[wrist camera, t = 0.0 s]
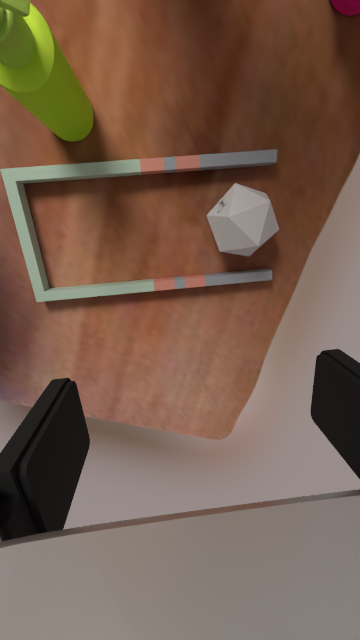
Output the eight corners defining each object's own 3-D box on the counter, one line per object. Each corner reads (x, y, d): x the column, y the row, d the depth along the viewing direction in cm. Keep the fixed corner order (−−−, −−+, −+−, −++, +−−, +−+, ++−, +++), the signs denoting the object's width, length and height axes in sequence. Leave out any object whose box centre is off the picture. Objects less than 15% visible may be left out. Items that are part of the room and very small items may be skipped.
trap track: (9, 172, 34) (0, 169, 32) (271, 153, 35) (277, 149, 33) (42, 298, 39) (36, 302, 38) (266, 277, 41) (272, 279, 39)
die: (257, 182, 37) (232, 159, 29) (297, 227, 35) (281, 216, 27) (216, 226, 41) (184, 217, 33) (250, 268, 40) (225, 269, 32)
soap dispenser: (98, 150, 34) (22, 53, 15) (42, 134, 33) (-115, 8, 14) (105, 96, 32) (28, -92, 13) (46, 77, 31) (-130, -156, 12)
